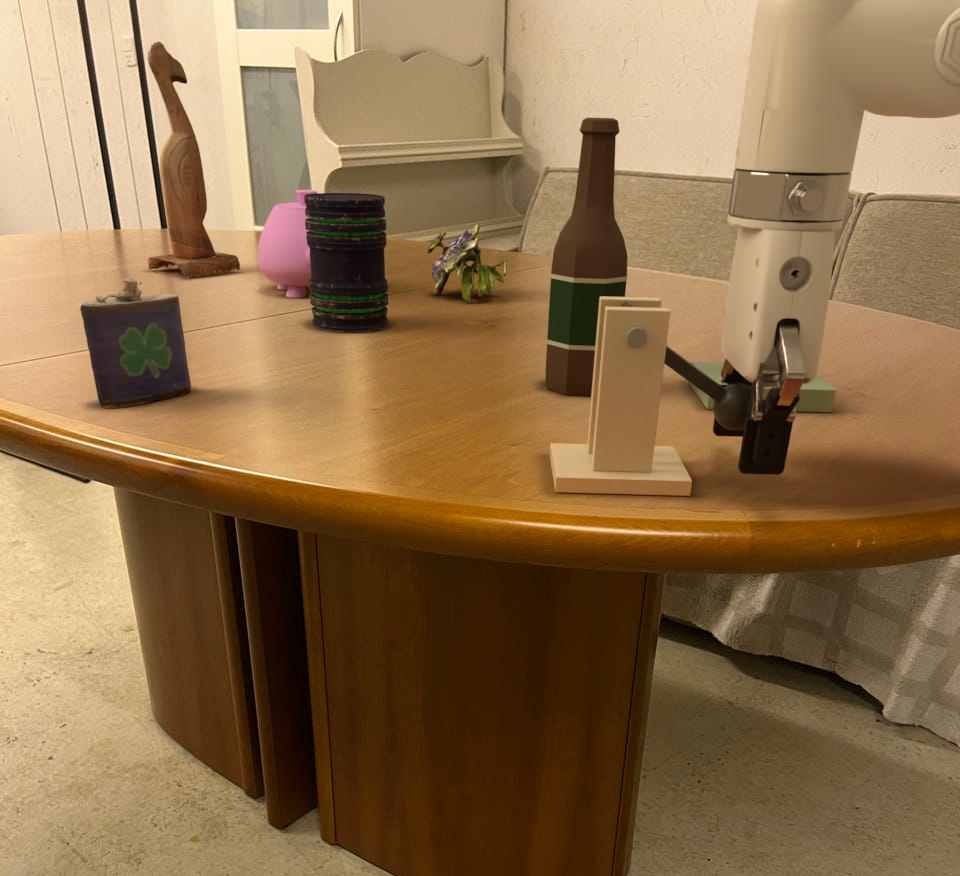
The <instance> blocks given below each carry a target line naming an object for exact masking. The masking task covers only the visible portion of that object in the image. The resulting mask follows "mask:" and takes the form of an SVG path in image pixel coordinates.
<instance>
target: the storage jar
mask: <svg viewBox="0 0 960 876" xmlns="http://www.w3.org/2000/svg"><path fill="white" fill-rule="evenodd" d="M304 200H305V204H306V209H305V215H306V217H309V218H307V219H305V226H306V227H305V229H306V230H309V231H308V232H306V236H307V238H306V240H307V245H308V246H309V248H310V263H311V279H310V281H309V284H310V285H309V286H308V288H309V292H310V294H309V301H310V302H309V305H310V306H312V307H311V313H312V317H313V319H312V326H313V328H315V329H317V330H321V331H324V332H331V333H345V334H346V333H347V334H349V333H350V334H351V333H353V334H354V333H355V334H356V333H369V332H376V331H381V330H384V329H386V328H387V327H388V326H389V320H388V318H387V316H388V315H387V314H388V312H389V310H388V307H387V306H389V294H388V291H389V289H388V288H389V285H388V280H387V278H386V267H385V266H386V265H385V261H386V260H385V248H386V247H387V240H388V238H387V233H386V232H385V231H387V219H384V218H386V210H385V205H386V202H385V201H386V197H385V196H384V195H380V194H372V193H358V192H357V193H356V192H355V193H353V192H349V193H348V192H323V193H322V192H321V193H320V192H319V193H317V194H308V195H305V196H304Z"/></svg>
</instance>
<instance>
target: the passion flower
mask: <svg viewBox="0 0 960 876" xmlns="http://www.w3.org/2000/svg"><path fill="white" fill-rule="evenodd" d="M480 228H481V225H480V224H475V225H474V226H473V229H472V230H471V231H470V232H469V229H467V230H464V232H463V234H459V236H458V237H456V238H455V239H452V241H450V242H449V241H448V242H447V243H448V245H447V246H445V244H444V243H443V242H442V241H443V239H444V238H445V236H446V235H447V232H446V231H445V230H444V231H443V232H441V233H440V234H439V235H437V237H434V240H433V241H432V242H431V244H430V245H429V247H428V250H427V254H431V253H432V252H433V251H434V250H435V249H436V248H437V247H441V249H442V252H441V253H439V256H438V259H437V260H436V261H435V263H433V264H432V265H431V269H432V272H431V277H432V280H433V282H435V283H436V284H435V287H434V288H435V289H434V291H433V295H435V296H440V295H441V294H443V291H444V289H445V286H446V284H447V282H448V280H449V278H450V276H451V273H453V272H454V271H455V274H456V276H457V277H458V279H460V280H461V281H460V289H461V290H460V291H461V297H462V299H463V300H464V301H466V302H467V303H468V304H471V300H472V299H471V298H472V294H473V292H474V288H475V274H476V276H477V281H476V283H477V290H478V291H477V294H478V297H479V298H481V297H482V296H484V294H486V292H487V293H488V294H489V296H490V297H491V296H492V294H491V290H492V289H493V288H494V285H495V280H497V281H498V282H500V283H502V284H504V282H505V281H504V278H503V276H504V277H506V275H507V271H508V270H507V269H508V265H507V264H508V260H509V259H504V260H501V262H500V263H498V264H495V265H493V266H492V265H488V264H486V265H485V264H484V265H483V264H482V258H481V254H482V250H481V248H480V247H479V243H480V240H479V238H478V234H479V231H480ZM468 262H473V263H472V264H471V265H468V264H467V263H468ZM500 266H502V267H503V268H502V272H503V274H502V275H503V276H502V275H501V273H500V272H499V271H498V270H497V268H496V267H500Z"/></svg>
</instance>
